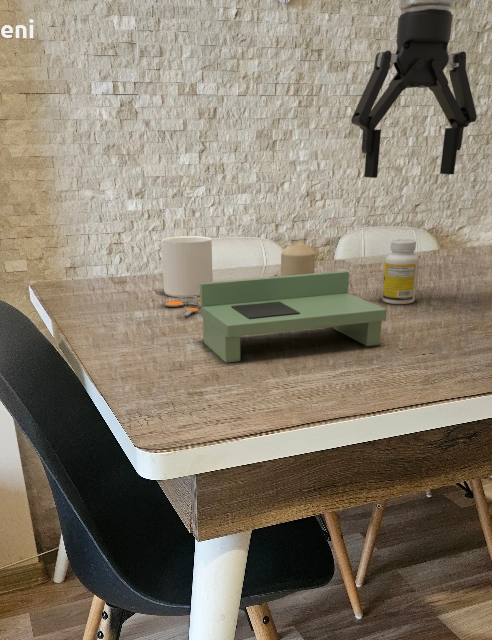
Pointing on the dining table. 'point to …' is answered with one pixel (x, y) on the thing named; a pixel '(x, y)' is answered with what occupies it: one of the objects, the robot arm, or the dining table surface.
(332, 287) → the green l-shaped stand
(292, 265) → the candle
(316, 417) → the dining table surface
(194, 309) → the key chain
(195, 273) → the mug
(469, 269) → the dining table surface
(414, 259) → the supplement bottle
